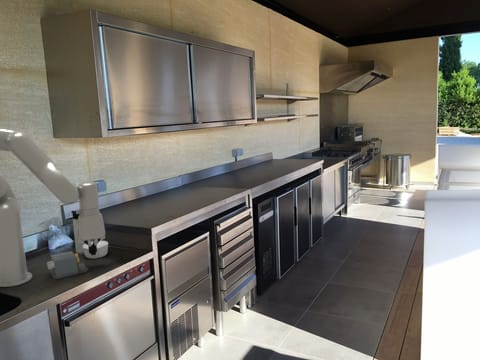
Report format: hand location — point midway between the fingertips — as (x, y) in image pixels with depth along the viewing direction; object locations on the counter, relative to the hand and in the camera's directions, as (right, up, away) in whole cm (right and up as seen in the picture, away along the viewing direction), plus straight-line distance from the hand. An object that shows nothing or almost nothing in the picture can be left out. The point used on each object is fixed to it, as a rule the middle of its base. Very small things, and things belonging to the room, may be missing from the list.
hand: (93, 254), depth 174 cm
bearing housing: (-8, -6, -5) cm, 11 cm away
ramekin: (-4, -3, +15) cm, 16 cm away
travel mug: (-12, -3, +19) cm, 23 cm away
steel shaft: (-10, -5, -6) cm, 12 cm away
